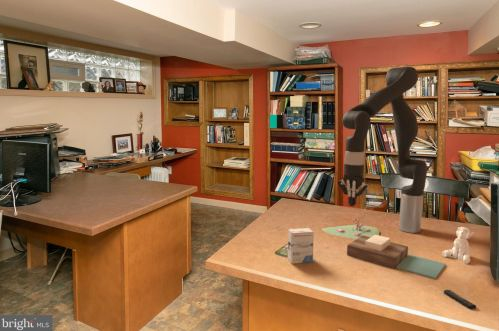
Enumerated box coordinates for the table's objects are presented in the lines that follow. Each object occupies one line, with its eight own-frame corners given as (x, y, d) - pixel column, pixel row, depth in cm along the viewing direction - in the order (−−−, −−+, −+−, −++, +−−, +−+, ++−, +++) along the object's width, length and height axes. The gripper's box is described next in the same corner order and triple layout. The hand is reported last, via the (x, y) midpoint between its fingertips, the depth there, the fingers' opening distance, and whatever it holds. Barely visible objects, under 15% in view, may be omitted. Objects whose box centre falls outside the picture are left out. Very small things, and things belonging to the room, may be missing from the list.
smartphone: (273, 252, 134) (292, 240, 146) (273, 255, 135) (292, 242, 146) (289, 257, 130) (308, 244, 142) (290, 260, 130) (308, 246, 142)
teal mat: (408, 255, 132) (408, 254, 132) (445, 265, 124) (445, 263, 124) (396, 268, 122) (396, 266, 122) (435, 279, 114) (435, 277, 113)
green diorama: (328, 241, 149) (329, 221, 147) (319, 225, 169) (319, 207, 168) (386, 241, 149) (387, 221, 147) (369, 225, 169) (370, 207, 168)
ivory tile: (374, 240, 137) (374, 234, 137) (389, 244, 133) (390, 238, 133) (365, 247, 130) (365, 240, 130) (380, 251, 126) (381, 244, 126)
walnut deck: (362, 244, 143) (362, 235, 143) (407, 256, 132) (408, 246, 131) (346, 254, 133) (347, 245, 132) (394, 268, 121) (395, 258, 121)
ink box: (308, 256, 132) (309, 227, 130) (313, 262, 127) (314, 231, 125) (287, 258, 130) (287, 228, 128) (290, 263, 125) (291, 233, 124)
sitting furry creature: (440, 256, 132) (443, 226, 130) (451, 250, 137) (453, 221, 135) (467, 264, 124) (471, 233, 122) (477, 258, 129) (481, 228, 127)
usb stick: (477, 309, 97) (477, 304, 97) (469, 311, 96) (470, 306, 96) (449, 292, 106) (449, 288, 106) (442, 294, 105) (442, 289, 105)
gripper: (374, 163, 133) (372, 206, 135) (342, 160, 141) (341, 201, 144) (366, 165, 127) (364, 211, 130) (334, 162, 136) (332, 204, 138)
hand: (352, 205), depth 137 cm, fingers closed
